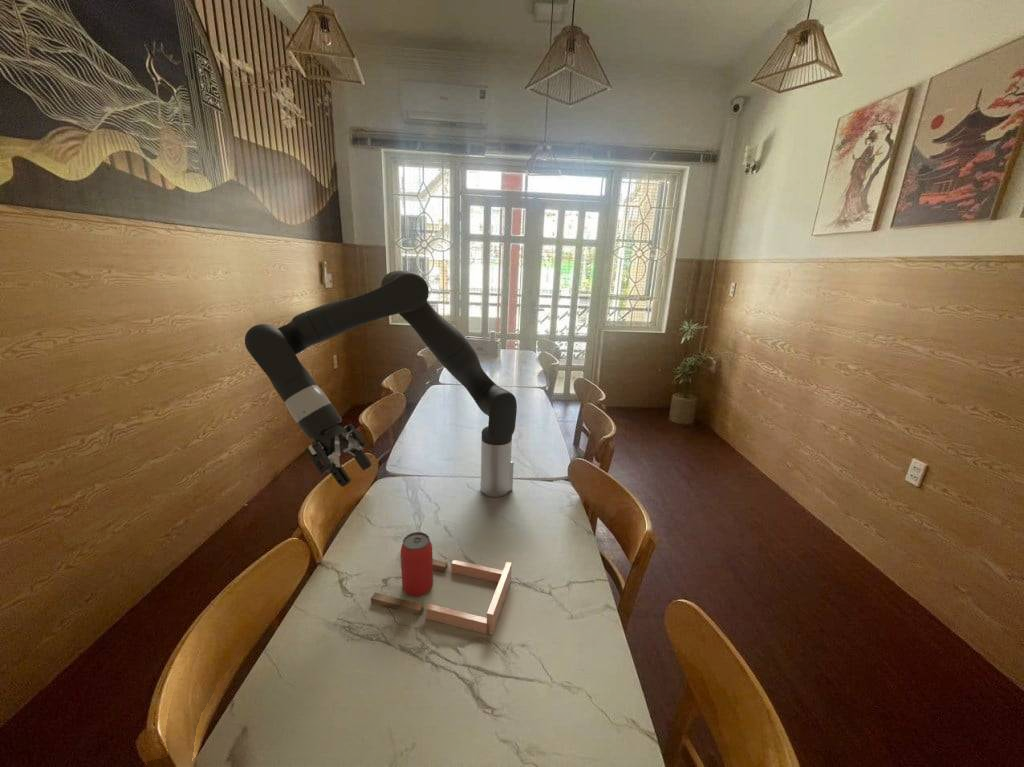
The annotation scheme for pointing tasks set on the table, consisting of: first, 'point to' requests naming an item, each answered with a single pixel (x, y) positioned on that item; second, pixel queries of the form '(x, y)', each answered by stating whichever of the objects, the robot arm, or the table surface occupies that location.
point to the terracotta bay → (494, 609)
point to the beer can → (416, 564)
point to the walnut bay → (401, 603)
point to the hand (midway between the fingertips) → (357, 475)
